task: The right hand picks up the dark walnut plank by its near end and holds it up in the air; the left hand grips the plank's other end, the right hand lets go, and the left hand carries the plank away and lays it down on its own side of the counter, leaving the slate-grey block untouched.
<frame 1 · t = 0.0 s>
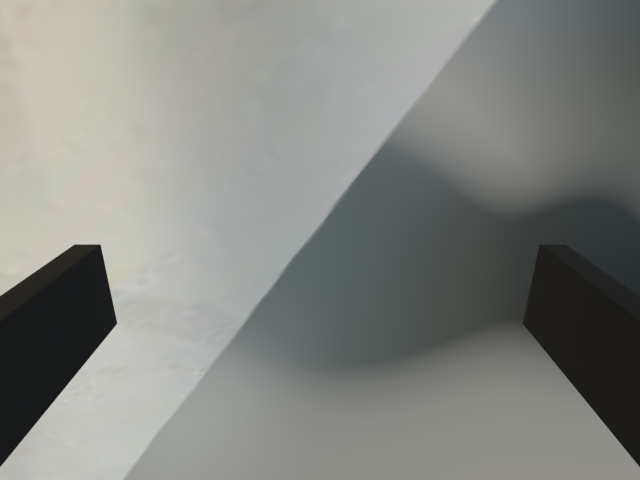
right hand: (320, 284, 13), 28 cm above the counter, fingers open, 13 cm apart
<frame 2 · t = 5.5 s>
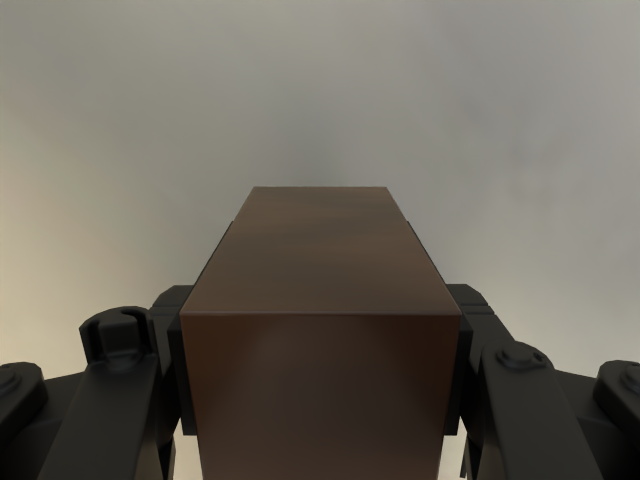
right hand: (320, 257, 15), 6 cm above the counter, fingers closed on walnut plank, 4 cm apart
walnut plank: (319, 467, 19), point 6 cm above the counter, touching right hand
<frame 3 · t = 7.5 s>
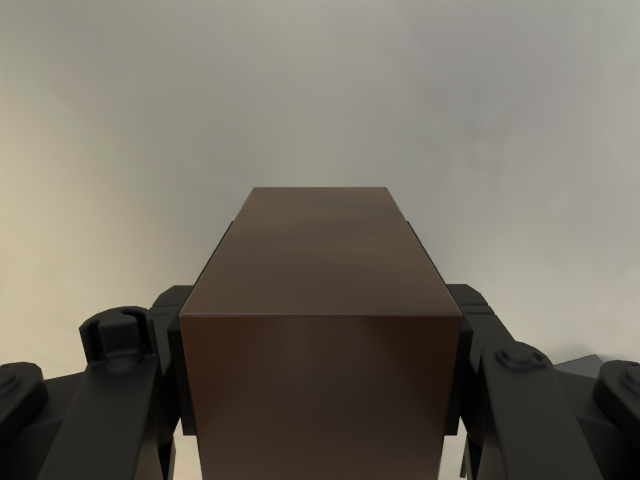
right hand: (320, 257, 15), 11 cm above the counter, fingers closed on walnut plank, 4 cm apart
walnut plank: (319, 468, 19), point 11 cm above the counter, touching right hand
slate block: (565, 389, 31), on the counter
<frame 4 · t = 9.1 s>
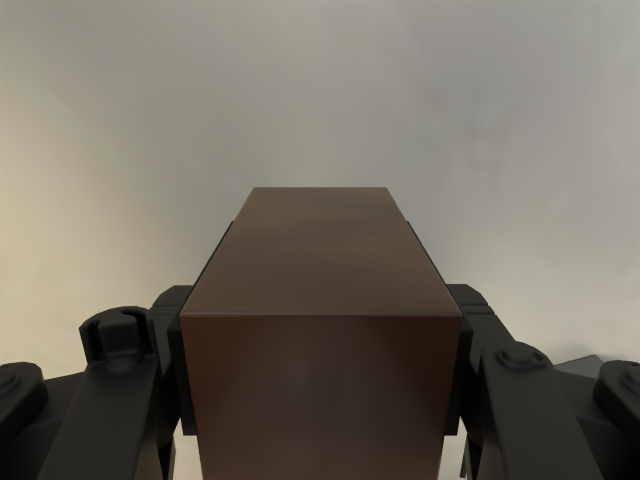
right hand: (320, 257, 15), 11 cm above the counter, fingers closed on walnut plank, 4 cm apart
walnut plank: (319, 468, 19), point 11 cm above the counter, touching right hand, left hand
slate block: (564, 390, 31), on the counter
when the right hand's fingers open (11 cm above the counter, at t = 10.0 s): walnut plank stays where it is, held by the left hand.
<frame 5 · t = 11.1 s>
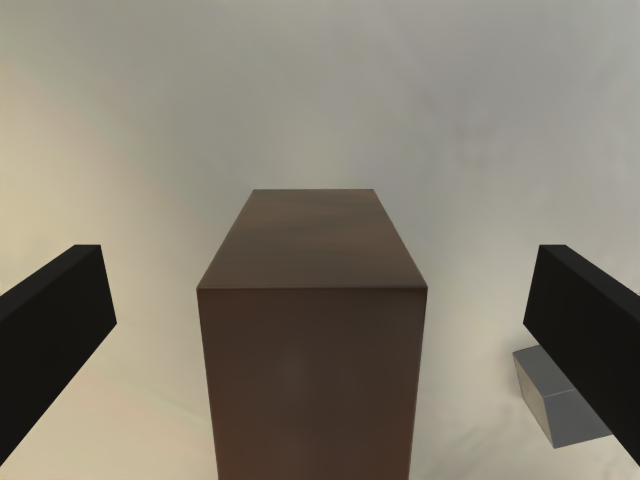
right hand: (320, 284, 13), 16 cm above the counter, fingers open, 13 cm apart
walnut plank: (315, 453, 20), point 13 cm above the counter, touching left hand
slate block: (548, 368, 33), on the counter
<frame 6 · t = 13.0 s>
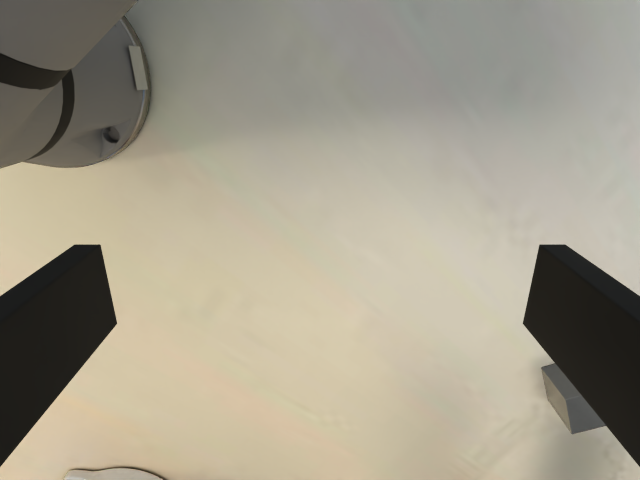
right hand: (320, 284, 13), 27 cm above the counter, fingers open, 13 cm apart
slate block: (566, 377, 47), on the counter
when the left hand's fingers open (5 cm above the counter, at t = 17.2 s): walnut plank stays where it is, on the counter.
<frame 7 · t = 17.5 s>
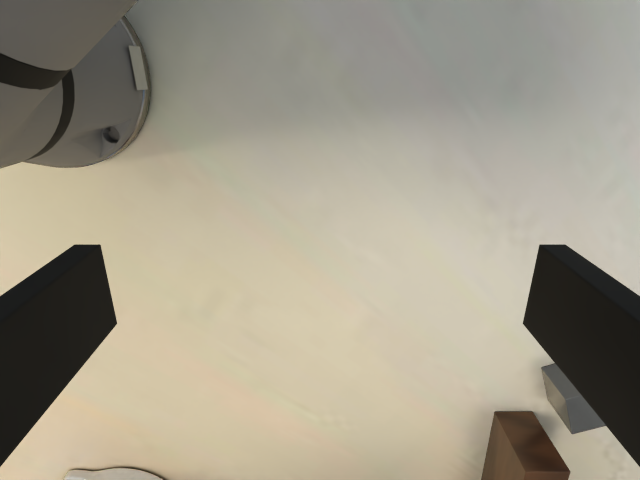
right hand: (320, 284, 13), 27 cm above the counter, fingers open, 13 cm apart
slate block: (566, 377, 47), on the counter
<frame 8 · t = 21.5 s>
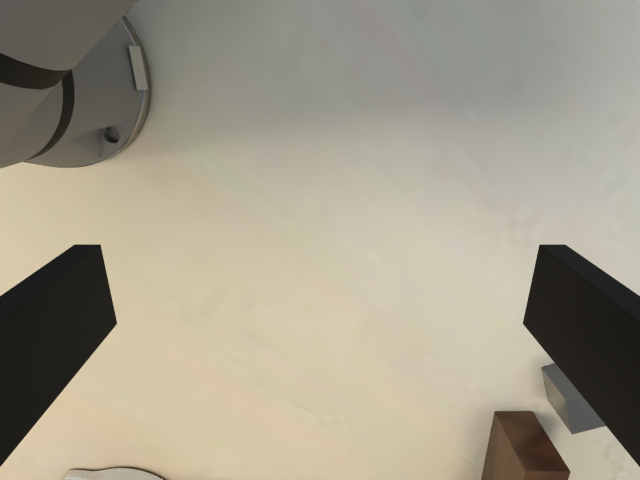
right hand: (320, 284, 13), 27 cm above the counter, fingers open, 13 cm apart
slate block: (566, 377, 47), on the counter
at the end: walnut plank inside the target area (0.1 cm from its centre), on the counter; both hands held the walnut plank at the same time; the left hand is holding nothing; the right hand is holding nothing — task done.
